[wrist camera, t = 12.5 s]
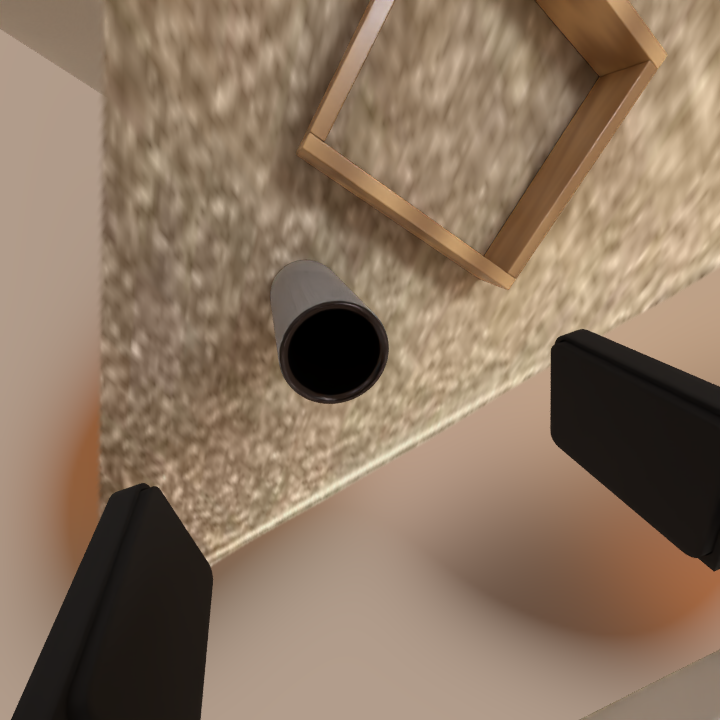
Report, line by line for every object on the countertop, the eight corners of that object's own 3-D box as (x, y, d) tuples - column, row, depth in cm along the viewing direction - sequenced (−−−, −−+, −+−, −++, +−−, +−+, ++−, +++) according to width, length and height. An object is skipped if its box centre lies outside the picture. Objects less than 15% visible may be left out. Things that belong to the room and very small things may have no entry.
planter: (308, 342, 26) (337, 423, 17) (254, 298, 24) (253, 363, 15) (354, 292, 25) (411, 349, 16) (303, 243, 23) (334, 275, 14)
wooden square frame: (295, 154, 21) (301, 147, 18) (439, -142, 18) (477, -212, 15) (479, 279, 27) (508, 290, 24) (614, 72, 24) (668, 54, 21)
